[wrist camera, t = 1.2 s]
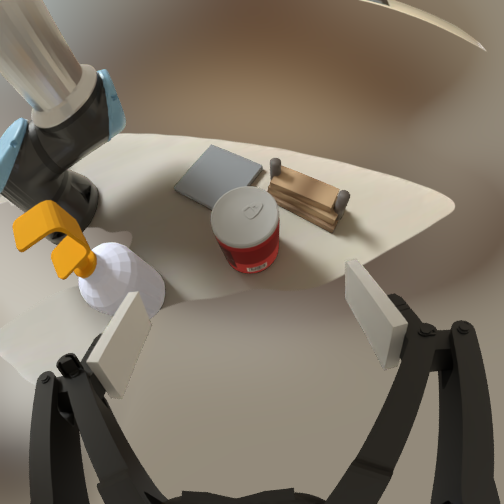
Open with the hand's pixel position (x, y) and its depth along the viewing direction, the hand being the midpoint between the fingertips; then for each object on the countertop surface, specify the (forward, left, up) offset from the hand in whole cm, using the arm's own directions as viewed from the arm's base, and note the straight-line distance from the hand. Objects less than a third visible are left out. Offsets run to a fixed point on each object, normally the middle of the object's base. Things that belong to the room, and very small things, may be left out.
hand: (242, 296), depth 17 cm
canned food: (-7, +9, -22) cm, 25 cm away
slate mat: (-19, +17, -22) cm, 34 cm away
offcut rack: (-4, +20, -22) cm, 30 cm away
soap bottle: (-18, -6, -22) cm, 29 cm away
